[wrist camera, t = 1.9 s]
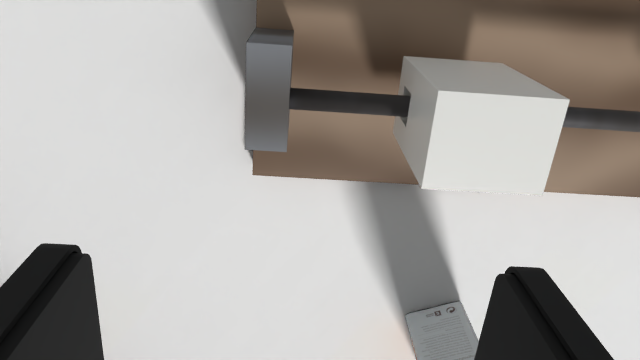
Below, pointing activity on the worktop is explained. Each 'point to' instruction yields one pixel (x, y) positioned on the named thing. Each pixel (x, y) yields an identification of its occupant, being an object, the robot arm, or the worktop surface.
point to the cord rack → (443, 43)
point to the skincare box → (442, 333)
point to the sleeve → (477, 126)
